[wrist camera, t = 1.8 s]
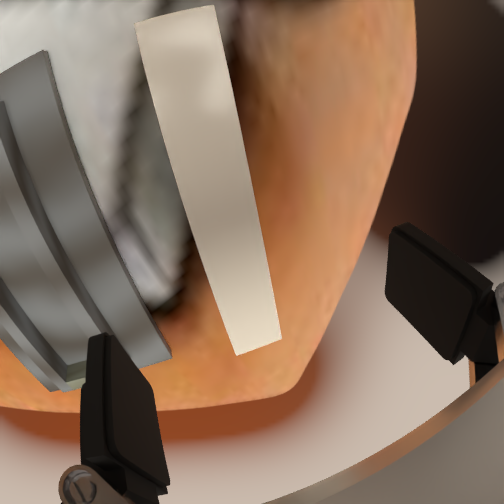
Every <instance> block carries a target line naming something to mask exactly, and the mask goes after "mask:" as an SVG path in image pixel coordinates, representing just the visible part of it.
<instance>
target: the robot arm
mask: <svg viewBox="0 0 504 504" xmlns="http://www.w3.org/2000/svg"><path fill="white" fill-rule="evenodd" d="M492 286H493V283H492V282H491V281H490V280H489V279H487V278H486V277H485V276H484V275H482V274H481V273H480V272H478V271H477V270H476V269H475V268H473V267H472V266H470V265H469V264H468V263H467V262H465V261H464V260H462V259H461V258H459V257H458V256H457V255H456V254H454V253H453V252H451V251H450V250H449V249H447V248H446V247H445V246H443V245H442V244H440V243H439V242H437V241H436V240H434V239H433V238H432V237H430V236H429V235H427V234H426V233H424V232H423V231H421V230H420V229H418V228H417V227H415V226H414V225H412V224H411V223H409V222H405V223H403V224H401V225H398V226H395V227H394V228H393V229H392V231H391V233H390V235H389V247H388V261H387V275H386V285H385V295H386V298H387V300H388V301H389V302H390V303H391V304H392V305H393V306H394V307H395V308H396V309H397V310H398V311H399V312H400V313H401V314H402V315H403V316H404V317H405V318H406V319H407V320H408V322H410V323H411V325H412V326H413V327H414V328H415V329H416V330H417V331H418V332H419V333H420V334H421V335H422V336H423V337H424V338H425V339H426V340H427V341H428V342H429V344H430V345H431V346H432V347H433V348H434V349H435V350H436V351H437V352H438V353H439V354H440V355H441V356H442V357H443V358H444V359H445V360H449V361H450V362H451V363H452V364H453V365H454V364H456V363H457V362H458V361H459V360H461V359H462V358H463V357H464V355H466V356H467V357H468V360H469V378H470V389H469V390H467V391H466V392H465V393H464V394H462V395H461V396H460V397H459V398H457V399H456V400H455V401H453V402H452V403H451V404H450V405H448V406H447V407H446V408H444V409H443V410H442V411H440V412H439V413H437V414H436V415H435V416H433V417H432V418H430V419H429V420H428V421H426V422H425V423H424V424H422V425H421V426H419V427H417V428H416V429H414V430H413V431H411V432H410V433H408V434H407V435H405V436H404V437H402V438H401V439H399V440H397V441H396V442H394V443H392V444H391V445H389V446H387V447H386V448H384V449H382V450H381V451H379V452H377V453H375V454H374V455H372V456H370V457H368V458H366V459H364V460H363V461H361V462H359V463H357V464H355V465H353V466H351V467H349V468H347V469H345V470H343V471H341V472H339V473H337V474H335V475H333V476H331V477H329V478H326V479H324V480H322V481H320V482H317V483H315V484H313V485H311V486H308V487H306V488H303V489H301V490H298V491H296V492H293V493H291V494H288V495H286V496H283V497H280V498H278V499H275V500H272V501H269V502H266V503H263V504H504V282H503V283H500V284H499V285H498V286H497V287H496V289H495V292H494V291H493V290H492ZM80 450H81V465H75V466H72V467H70V468H68V469H67V470H66V471H65V472H64V473H63V475H62V476H61V478H60V481H59V495H60V499H61V500H62V503H61V504H159V500H158V496H159V495H164V494H168V491H167V487H166V486H168V485H170V478H169V473H168V469H167V465H166V460H165V455H164V450H163V445H162V440H161V435H160V429H159V423H158V417H157V411H156V405H155V399H154V393H153V390H152V387H151V385H150V384H149V382H148V381H147V380H146V378H145V377H144V376H143V374H142V373H141V372H140V370H139V369H138V368H137V366H136V365H135V363H134V362H133V361H132V359H131V358H130V357H129V355H128V354H127V352H126V351H125V349H124V348H123V347H122V345H121V344H120V342H119V341H118V339H117V338H116V337H115V335H109V334H108V333H107V332H104V333H101V334H98V335H95V336H91V337H90V338H89V340H88V348H87V361H86V377H85V383H84V384H83V385H82V388H81V404H80Z"/></svg>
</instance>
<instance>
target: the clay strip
mask: <svg viewBox="0 0 504 504" xmlns="http://www.w3.org/2000/svg"><path fill="white" fill-rule="evenodd" d="M134 27H135V31H136V36H137V40H138V45H139V49H140V53H141V57H142V61H143V65H144V69H145V73H146V77H147V81H148V85H149V89H150V92H151V96H152V100H153V104H154V107H155V111H156V115H157V118H158V122H159V125H160V129H161V132H162V136H163V139H164V143H165V146H166V150H167V153H168V157H169V160H170V163H171V167H172V170H173V173H174V177H175V180H176V183H177V186H178V190H179V193H180V196H181V199H182V202H183V206H184V209H185V212H186V215H187V218H188V221H189V224H190V227H191V230H192V233H193V236H194V239H195V242H196V245H197V248H198V251H199V254H200V257H201V260H202V263H203V266H204V269H205V272H206V275H207V278H208V281H209V283H210V286H211V289H212V292H213V295H214V297H215V300H216V303H217V306H218V309H219V311H220V314H221V317H222V319H223V322H224V325H225V328H226V330H227V333H228V336H229V338H230V341H231V343H232V346H233V349H234V351H235V354H236V356H237V355H240V354H243V353H246V352H248V351H251V350H254V349H256V348H259V347H262V346H264V345H267V344H270V343H272V342H275V341H277V340H280V339H282V336H281V331H280V326H279V320H278V315H277V310H276V305H275V299H274V294H273V289H272V284H271V278H270V273H269V268H268V263H267V258H266V253H265V247H264V242H263V237H262V232H261V227H260V222H259V217H258V212H257V207H256V202H255V197H254V192H253V187H252V182H251V177H250V172H249V167H248V162H247V158H246V153H245V148H244V143H243V138H242V133H241V129H240V124H239V119H238V114H237V109H236V105H235V100H234V95H233V90H232V86H231V81H230V76H229V72H228V67H227V62H226V58H225V53H224V49H223V44H222V40H221V35H220V30H219V26H218V21H217V17H216V12H215V8H214V5H209V6H203V7H198V8H193V9H188V10H183V11H178V12H174V13H170V14H166V15H162V16H158V17H154V18H150V19H147V20H143V21H140V22H136V23H134Z"/></svg>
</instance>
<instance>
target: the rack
mask: <svg viewBox="0 0 504 504" xmlns="http://www.w3.org/2000/svg"><path fill="white" fill-rule="evenodd" d="M104 332H107V333H108V334H109V335H115V337H116V338H117V339H118V341H119V342H120V344H121V345H122V347H123V348H124V349H125V351H126V352H127V354H128V355H129V357H130V358H131V359H132V361H133V362H134V363H135V365H136V366H137V368H138V369H139V368H143V367H146V366H149V365H153V364H156V363H159V362H162V361H165V360H169V359H172V353H171V350H170V348H169V346H168V345H167V343H166V341H165V339H164V338H163V336H162V334H161V332H160V331H159V329H158V327H157V325H156V324H155V322H154V320H153V318H152V316H151V315H150V313H149V311H148V309H147V307H146V305H145V304H144V302H143V300H142V298H141V296H140V294H139V292H138V290H137V288H136V286H135V285H134V283H133V281H132V279H131V277H130V275H129V273H128V271H127V269H126V267H125V265H124V262H123V260H122V258H121V256H120V254H119V252H118V250H117V248H116V246H115V244H114V241H113V239H112V237H111V235H110V233H109V230H108V228H107V226H106V224H105V221H104V219H103V217H102V214H101V212H100V210H99V207H98V205H97V203H96V200H95V198H94V195H93V193H92V190H91V188H90V185H89V183H88V180H87V178H86V175H85V173H84V170H83V167H82V165H81V162H80V159H79V156H78V154H77V151H76V148H75V145H74V142H73V139H72V136H71V133H70V130H69V127H68V124H67V121H66V118H65V115H64V112H63V108H62V105H61V102H60V98H59V95H58V91H57V88H56V84H55V80H54V77H53V73H52V69H51V65H50V61H49V57H48V52H47V51H44V50H42V51H40V52H38V53H36V54H34V55H32V56H30V57H28V58H27V59H25V60H23V61H21V62H19V63H18V64H16V65H14V66H12V67H11V68H9V69H7V70H6V71H4V72H2V73H1V74H0V339H1V340H2V341H3V342H4V343H5V345H6V346H7V347H8V348H9V349H10V350H11V352H12V353H13V354H14V355H15V356H16V357H17V358H18V359H19V361H20V362H21V363H22V364H23V365H24V366H25V367H26V368H27V369H28V370H29V371H30V372H31V373H32V374H33V375H34V376H35V377H36V378H37V379H38V380H39V381H40V382H41V383H42V384H43V385H44V386H45V387H46V388H47V389H48V390H49V391H50V392H53V391H57V390H61V391H62V392H67V391H72V390H76V389H80V388H82V385H83V384H84V383H85V377H86V361H87V348H88V340H89V338H90V337H91V336H95V335H98V334H101V333H104Z"/></svg>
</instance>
